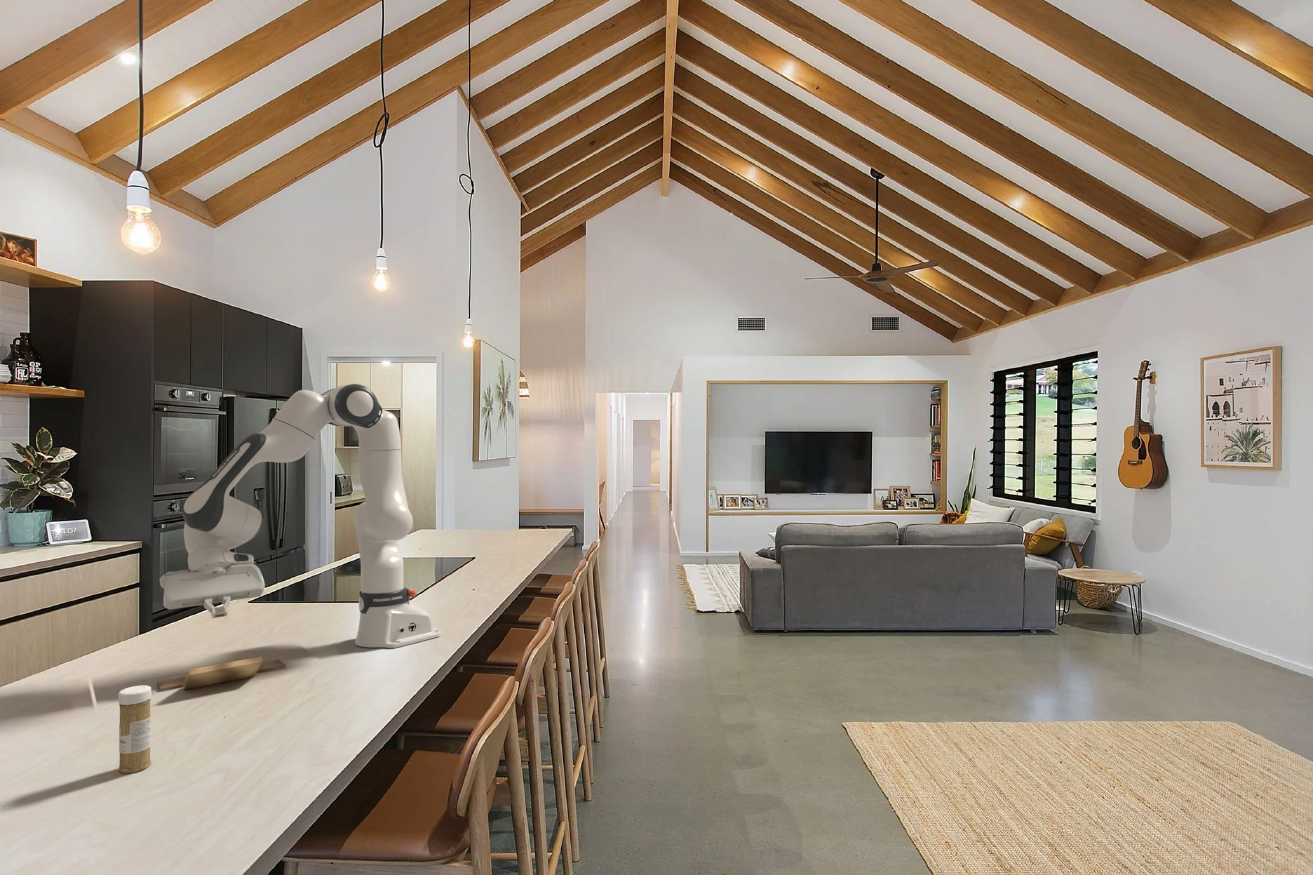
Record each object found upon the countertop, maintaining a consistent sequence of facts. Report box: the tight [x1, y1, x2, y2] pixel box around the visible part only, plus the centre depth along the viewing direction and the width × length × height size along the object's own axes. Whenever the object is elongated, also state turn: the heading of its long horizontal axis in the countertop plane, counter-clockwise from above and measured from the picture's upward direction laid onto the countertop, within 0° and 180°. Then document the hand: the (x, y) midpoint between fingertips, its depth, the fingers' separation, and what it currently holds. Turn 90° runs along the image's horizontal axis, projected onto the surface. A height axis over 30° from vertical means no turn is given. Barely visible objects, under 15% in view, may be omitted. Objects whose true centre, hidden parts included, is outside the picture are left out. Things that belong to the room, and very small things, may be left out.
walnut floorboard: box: [156, 659, 286, 693], centre depth 169 cm, size 25×6×1 cm, turn 131°
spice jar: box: [117, 684, 152, 774], centre depth 122 cm, size 5×5×14 cm
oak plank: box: [182, 656, 263, 690], centre depth 161 cm, size 14×10×1 cm
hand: (219, 615), depth 165 cm, fingers closed
